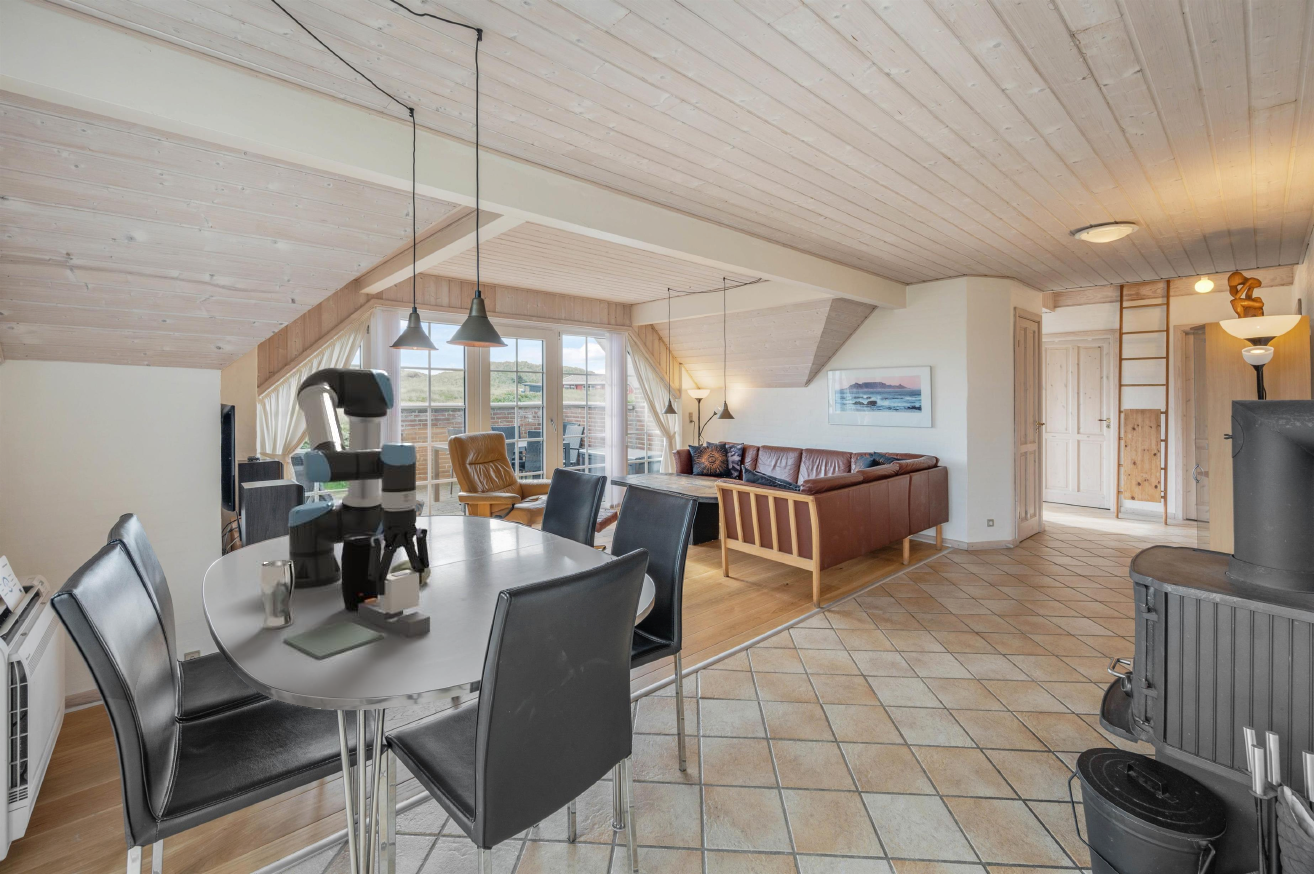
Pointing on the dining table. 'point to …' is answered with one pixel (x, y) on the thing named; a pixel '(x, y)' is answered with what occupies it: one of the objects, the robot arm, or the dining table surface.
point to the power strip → (394, 619)
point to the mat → (333, 639)
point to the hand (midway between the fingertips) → (399, 603)
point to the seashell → (407, 566)
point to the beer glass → (277, 592)
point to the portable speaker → (356, 570)
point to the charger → (403, 591)
